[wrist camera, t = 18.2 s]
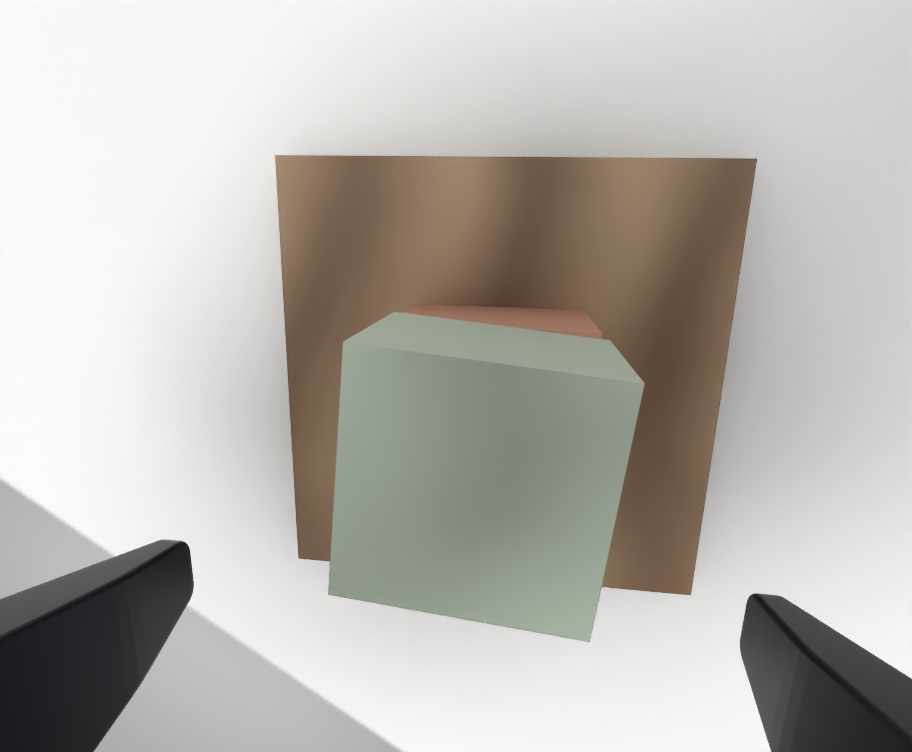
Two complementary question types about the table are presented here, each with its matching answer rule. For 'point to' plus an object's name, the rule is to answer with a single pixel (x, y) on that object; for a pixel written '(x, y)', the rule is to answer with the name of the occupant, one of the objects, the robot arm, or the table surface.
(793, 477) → the table surface
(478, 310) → the terracotta brick
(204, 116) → the table surface
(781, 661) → the robot arm
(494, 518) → the sage brick
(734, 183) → the board
